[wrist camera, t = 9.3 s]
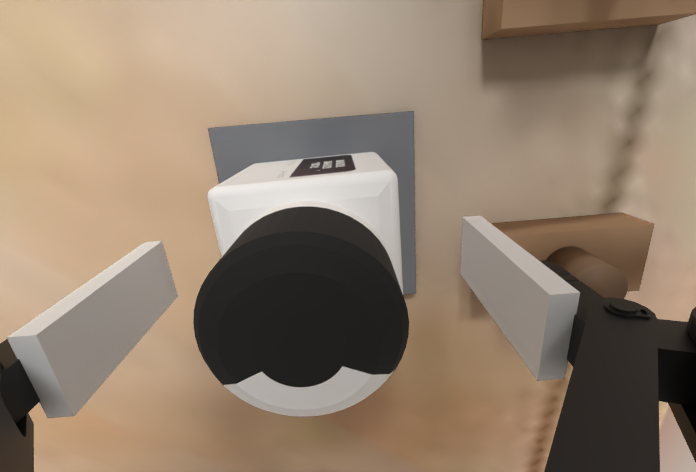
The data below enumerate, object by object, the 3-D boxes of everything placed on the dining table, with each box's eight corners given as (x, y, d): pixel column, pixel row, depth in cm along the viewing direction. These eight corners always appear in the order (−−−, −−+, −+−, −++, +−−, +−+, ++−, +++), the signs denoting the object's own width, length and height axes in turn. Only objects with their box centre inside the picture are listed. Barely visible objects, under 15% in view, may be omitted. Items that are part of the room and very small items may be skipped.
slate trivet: (211, 127, 21) (207, 128, 20) (411, 111, 21) (413, 111, 20) (246, 302, 25) (244, 307, 24) (414, 289, 25) (415, 293, 24)
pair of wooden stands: (489, -135, 17) (626, -360, 9) (694, -152, 17) (1017, -393, 9) (470, 284, 25) (533, 367, 17) (610, 273, 25) (741, 350, 17)
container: (250, 163, 21) (121, 234, 8) (377, 150, 21) (434, 204, 8) (271, 278, 23) (197, 459, 11) (385, 267, 23) (436, 437, 11)
